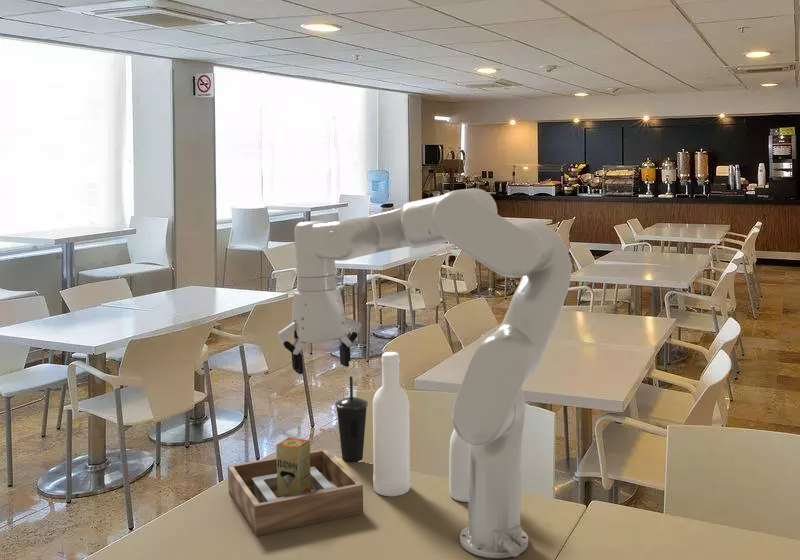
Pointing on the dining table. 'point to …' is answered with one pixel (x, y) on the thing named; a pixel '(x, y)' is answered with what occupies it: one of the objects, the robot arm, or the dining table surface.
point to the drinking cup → (351, 425)
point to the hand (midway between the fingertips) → (322, 369)
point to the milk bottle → (458, 468)
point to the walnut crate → (268, 513)
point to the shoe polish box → (293, 467)
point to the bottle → (391, 432)
